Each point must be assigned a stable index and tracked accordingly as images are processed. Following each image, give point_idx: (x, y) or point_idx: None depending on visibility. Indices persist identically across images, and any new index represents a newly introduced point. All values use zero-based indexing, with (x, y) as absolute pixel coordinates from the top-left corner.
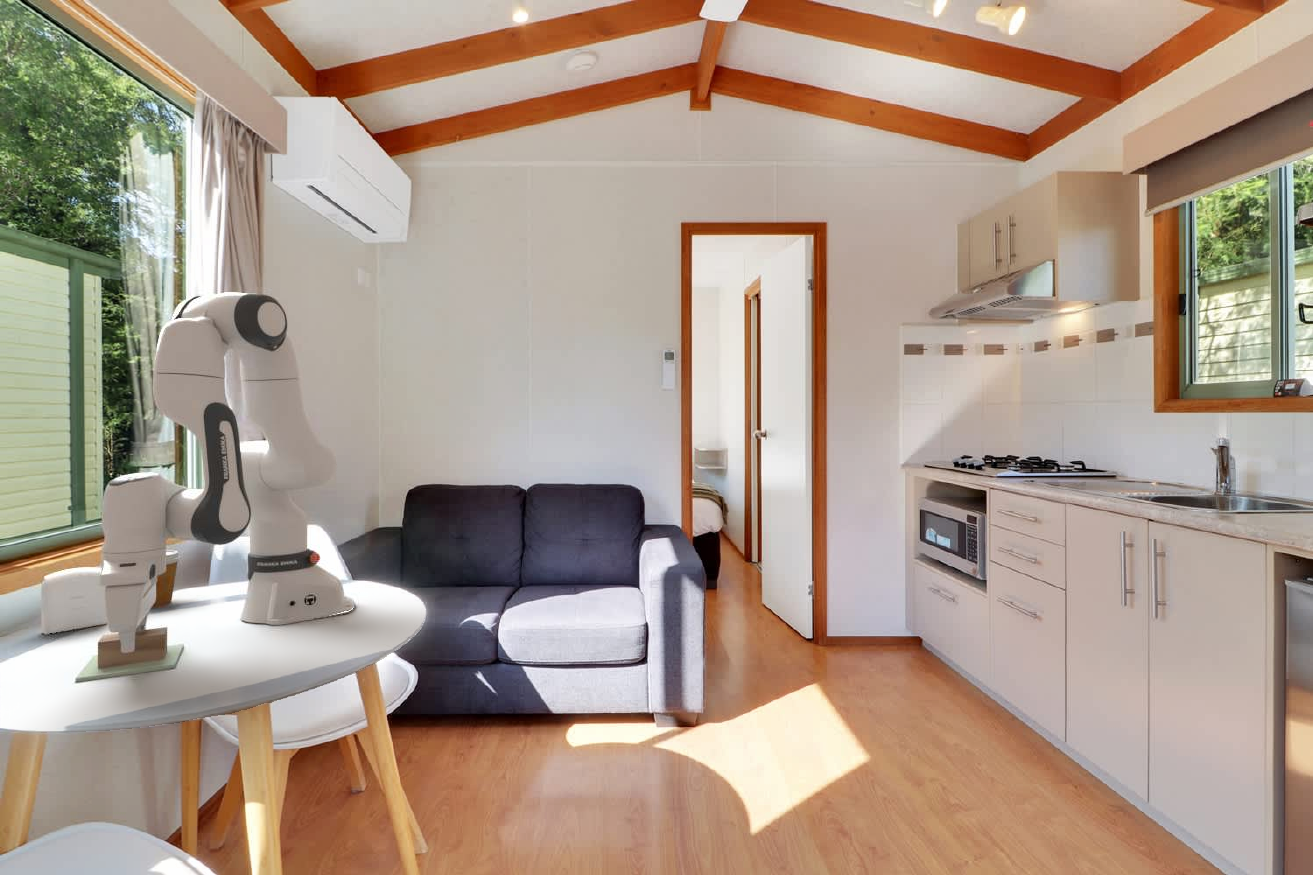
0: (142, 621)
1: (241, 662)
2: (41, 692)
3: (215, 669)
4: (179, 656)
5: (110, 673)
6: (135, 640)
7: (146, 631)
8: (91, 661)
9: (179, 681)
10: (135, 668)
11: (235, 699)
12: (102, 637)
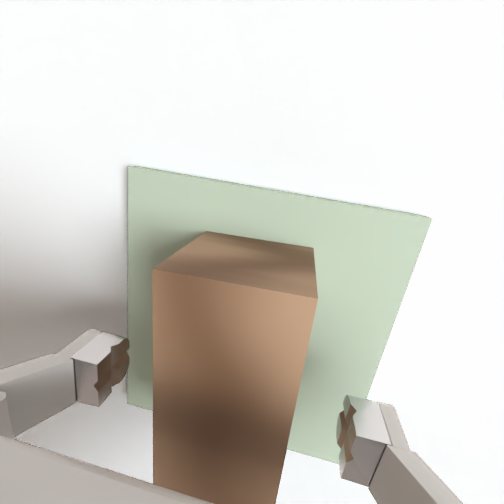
0: (389, 501)
1: None
2: (76, 68)
3: (76, 448)
4: None
5: (128, 263)
6: (84, 399)
7: (243, 456)
8: (328, 210)
9: None
10: (142, 324)
11: None
12: (255, 293)
